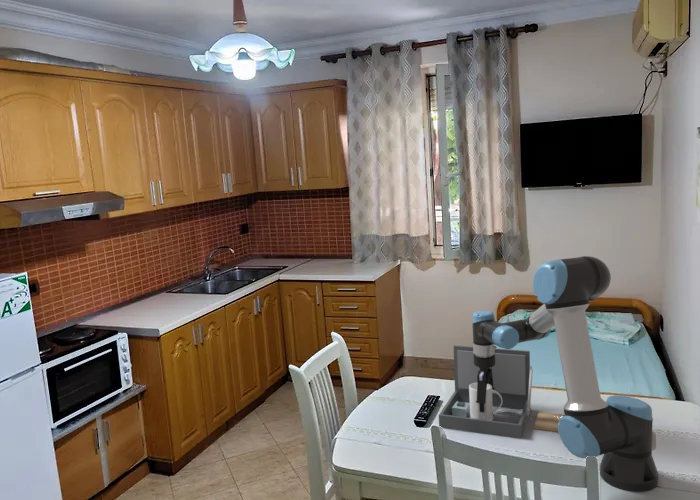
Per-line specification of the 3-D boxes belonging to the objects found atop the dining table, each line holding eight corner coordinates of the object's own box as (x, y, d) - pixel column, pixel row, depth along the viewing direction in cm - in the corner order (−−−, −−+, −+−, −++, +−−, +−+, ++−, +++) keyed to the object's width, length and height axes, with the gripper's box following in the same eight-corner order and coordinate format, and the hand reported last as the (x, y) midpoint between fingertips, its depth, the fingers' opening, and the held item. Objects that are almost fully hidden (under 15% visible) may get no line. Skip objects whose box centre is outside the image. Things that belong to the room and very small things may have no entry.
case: (524, 438, 193) (523, 373, 190) (439, 427, 205) (436, 365, 202) (533, 410, 215) (532, 351, 211) (456, 401, 227) (454, 345, 223)
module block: (465, 419, 210) (465, 407, 209) (452, 417, 212) (451, 405, 212) (470, 413, 215) (469, 400, 215) (457, 411, 218) (456, 399, 217)
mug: (503, 414, 212) (503, 383, 210) (501, 424, 204) (500, 392, 202) (471, 412, 216) (470, 381, 214) (467, 421, 208) (466, 389, 206)
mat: (577, 434, 194) (577, 433, 193) (533, 429, 199) (533, 428, 199) (579, 417, 206) (579, 416, 206) (538, 412, 212) (538, 411, 212)
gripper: (488, 365, 195) (490, 428, 198) (500, 345, 215) (502, 402, 218) (466, 363, 198) (468, 425, 201) (480, 344, 218) (481, 400, 222)
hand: (485, 413), depth 210 cm, fingers open, 10 cm apart
